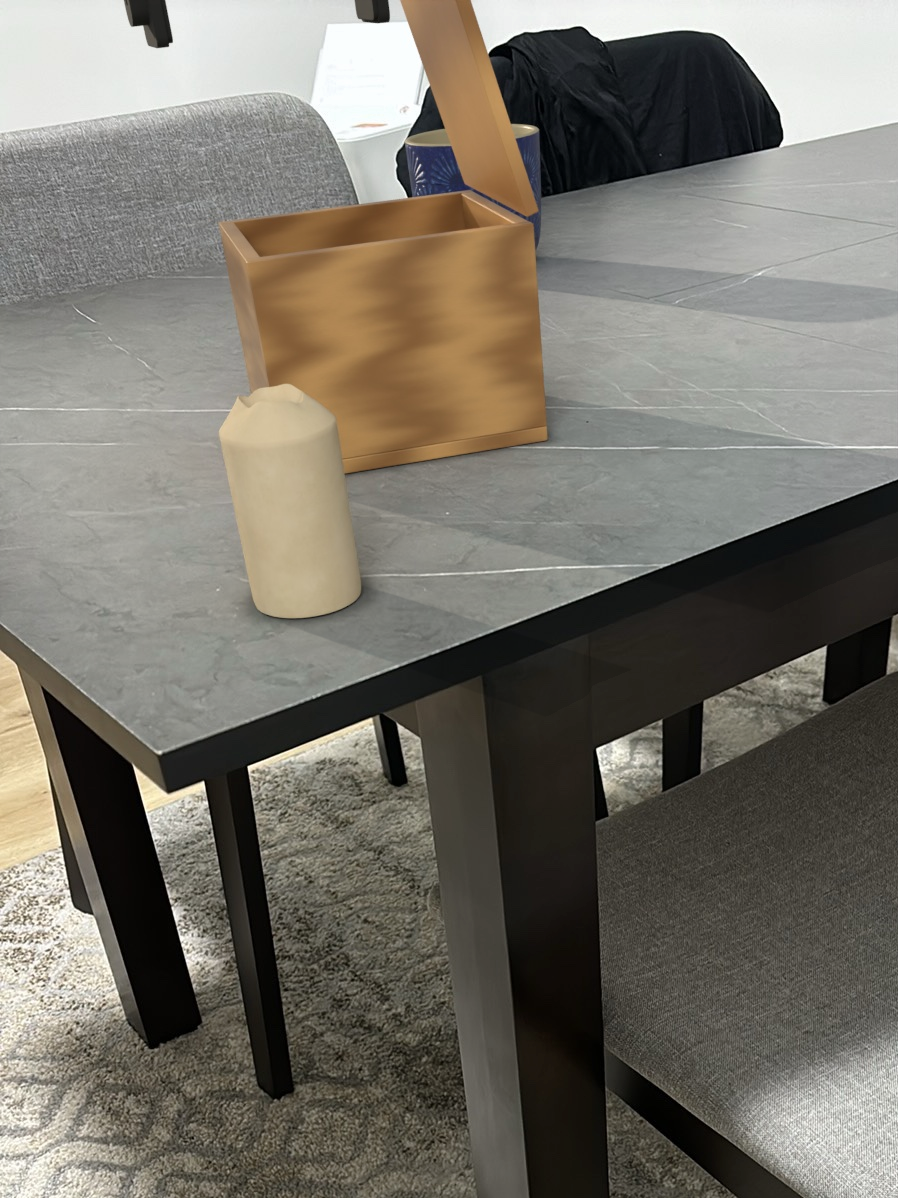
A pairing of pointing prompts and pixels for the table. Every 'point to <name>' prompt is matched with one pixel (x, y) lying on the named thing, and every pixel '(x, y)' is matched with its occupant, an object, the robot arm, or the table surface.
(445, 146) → the planter
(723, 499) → the table surface
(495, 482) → the table surface
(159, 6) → the robot arm
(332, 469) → the candle
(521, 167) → the lid
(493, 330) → the chest
